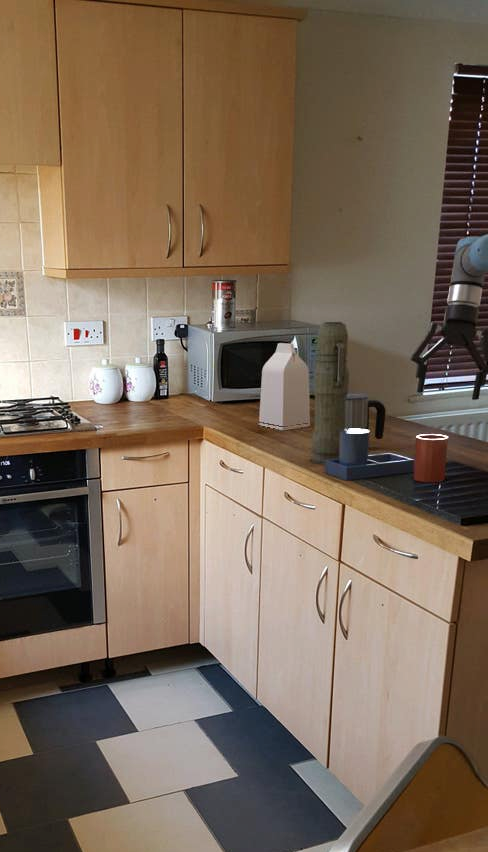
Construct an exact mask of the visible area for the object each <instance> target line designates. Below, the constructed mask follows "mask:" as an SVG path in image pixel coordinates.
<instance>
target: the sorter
mask: <svg viewBox="0 0 488 852" xmlns="http://www.w3.org/2000/svg"><path fill="white" fill-rule="evenodd" d="M414 463H415V458H414V459H413V458H409V457H407V456H402V455H399V454H397V453H393V452H385V453H376V454H368V465H359V466H351V467H347V466H344V465H341V464H339V459H333V460H325V464H324V473H325V474H328V475H330V476H334V477H336V478H339V479H341V480H343V481H352V480H353V481H354V480H362V479H368V478H377V477H384V476H393V475H401V474H409V473H414Z"/></svg>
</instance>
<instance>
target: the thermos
mask: <svg viewBox="0 0 488 852" xmlns="http://www.w3.org/2000/svg"><path fill="white" fill-rule="evenodd" d="M316 339H317V340H316V355H317V359H316V365H315V368H314V372H313V395H314V430H313V433H312V436H311V452H312V458H311V462H313V463H315V464H320V465H325V460H333V459H339V438H340V430H343V429H345V421H346V396H347V394H349V387H350V383H349V382H350V370H349V366H348V360H347V358H348V357H347V355H348V350H349V347H348V346H349V333H348V329H347V325H346V323H344V322H343V321H327V322H326V321H324V322H323V323H321V324H320V326H319V329H318V332H317V335H316Z"/></svg>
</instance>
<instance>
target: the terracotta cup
mask: <svg viewBox="0 0 488 852" xmlns="http://www.w3.org/2000/svg"><path fill="white" fill-rule="evenodd" d="M448 443H449V436H447V435H443V434H436V433H435V434H434V433H431V434H429V433H428V434H419V435H416V437H415V450H414V471H413V480H414V481H416V482H422V483H441V482H444V481H445V478H446V470H447V456H448Z"/></svg>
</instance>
